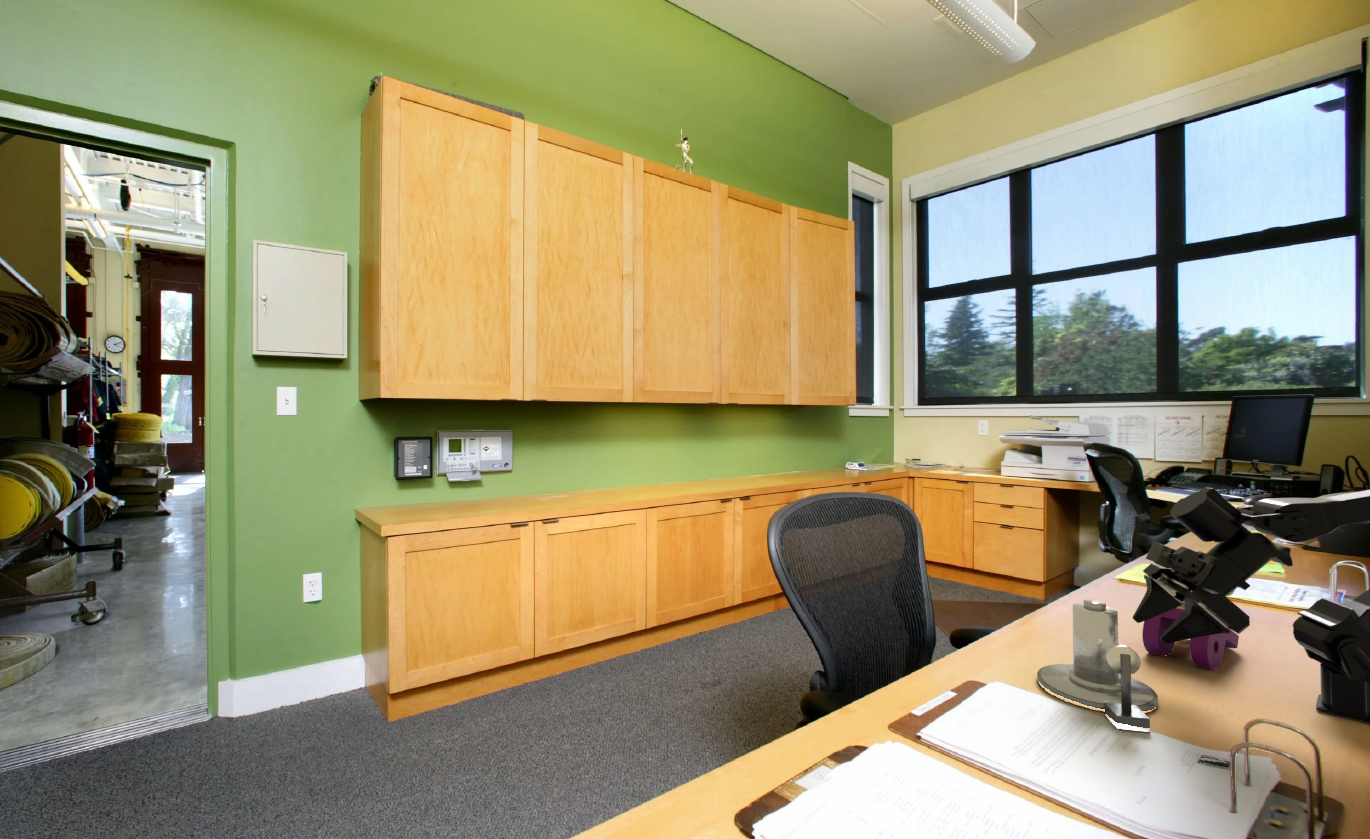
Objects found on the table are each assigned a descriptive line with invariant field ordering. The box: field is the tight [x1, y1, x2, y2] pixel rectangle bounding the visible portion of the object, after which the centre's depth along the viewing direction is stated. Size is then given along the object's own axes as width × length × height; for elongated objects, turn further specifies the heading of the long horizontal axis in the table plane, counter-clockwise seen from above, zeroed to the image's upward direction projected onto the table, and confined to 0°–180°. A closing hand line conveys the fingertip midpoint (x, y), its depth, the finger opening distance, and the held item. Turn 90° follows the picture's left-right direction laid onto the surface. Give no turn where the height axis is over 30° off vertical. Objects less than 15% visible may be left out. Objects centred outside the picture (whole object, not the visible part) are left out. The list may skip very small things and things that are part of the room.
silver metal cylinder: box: [1069, 599, 1121, 693], centre depth 96 cm, size 7×7×13 cm
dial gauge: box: [1104, 643, 1151, 729], centre depth 85 cm, size 4×4×11 cm
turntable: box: [1036, 663, 1159, 711], centre depth 96 cm, size 16×16×1 cm
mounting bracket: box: [1142, 607, 1240, 671], centre depth 110 cm, size 10×8×18 cm
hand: (1148, 630), depth 94 cm, fingers open, 9 cm apart
